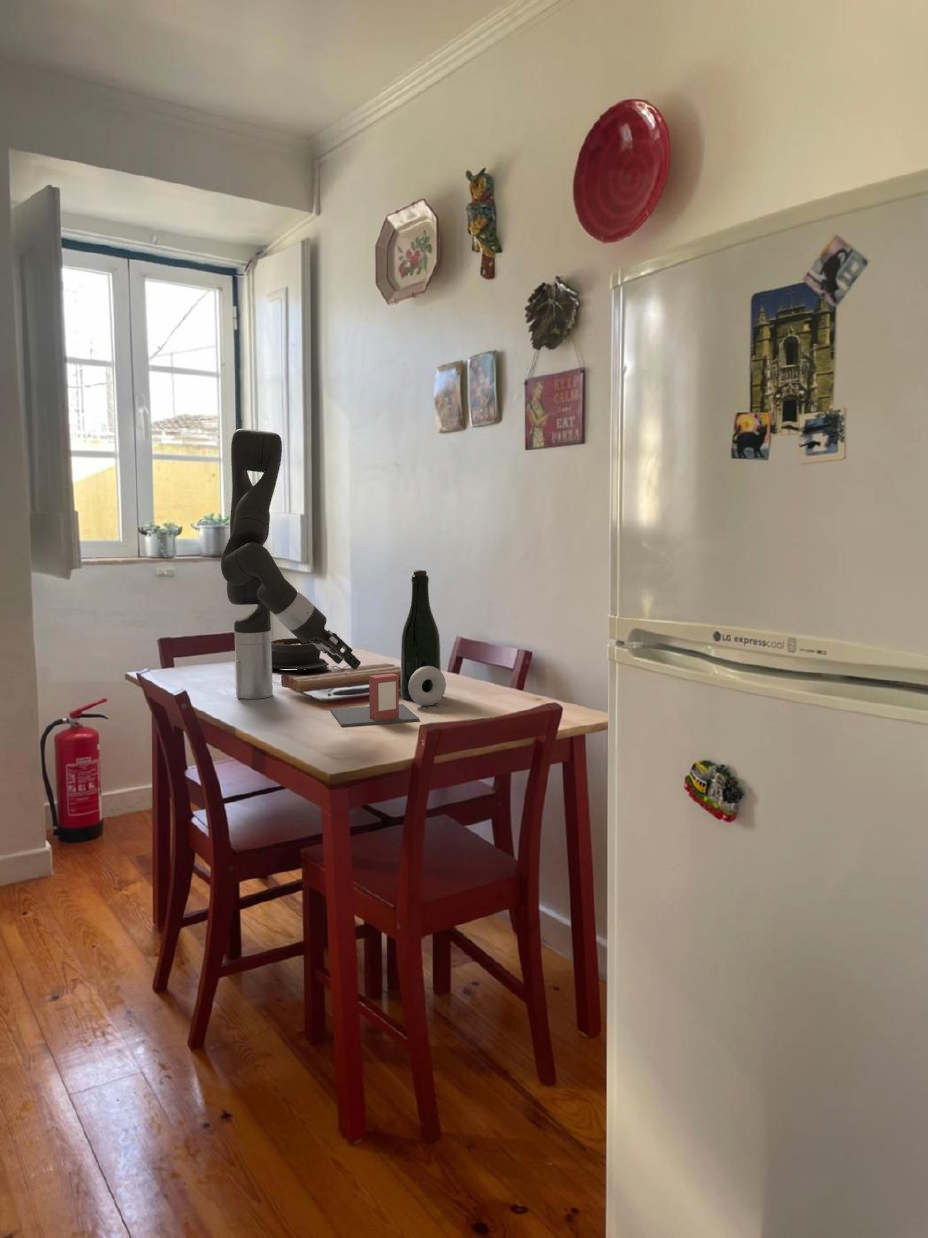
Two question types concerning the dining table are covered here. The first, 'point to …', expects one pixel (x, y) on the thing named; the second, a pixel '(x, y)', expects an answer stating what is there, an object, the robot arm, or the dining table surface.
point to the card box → (384, 697)
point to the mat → (368, 716)
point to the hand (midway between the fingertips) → (349, 663)
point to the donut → (418, 680)
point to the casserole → (295, 655)
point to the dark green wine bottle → (419, 636)
